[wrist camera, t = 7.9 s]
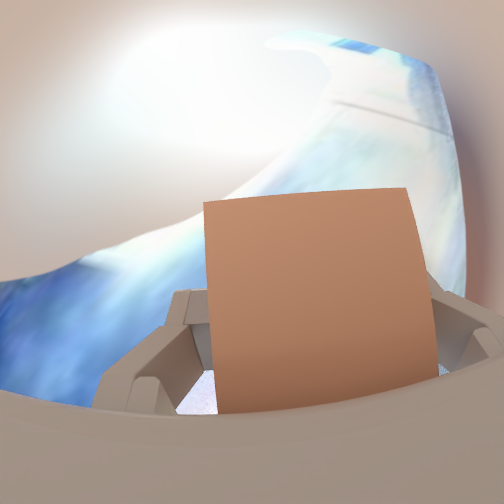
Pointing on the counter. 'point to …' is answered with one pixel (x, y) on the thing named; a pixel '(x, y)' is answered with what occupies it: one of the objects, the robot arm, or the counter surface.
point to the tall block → (316, 298)
